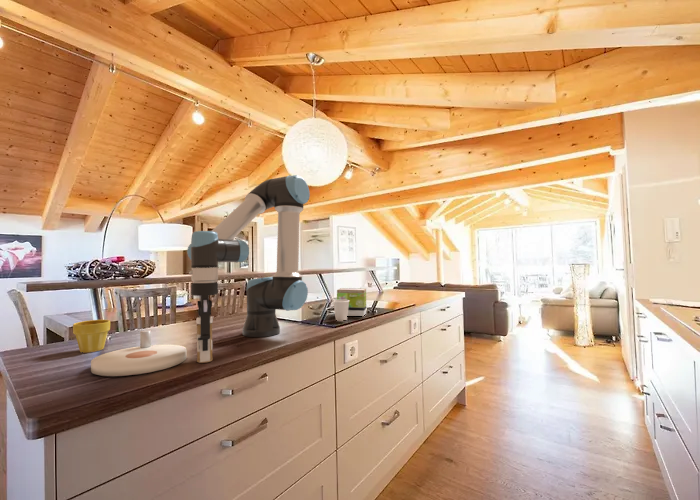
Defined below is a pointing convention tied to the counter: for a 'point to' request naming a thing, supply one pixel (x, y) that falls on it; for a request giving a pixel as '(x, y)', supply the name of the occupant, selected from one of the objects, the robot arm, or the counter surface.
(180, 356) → the disc
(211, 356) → the sprinkles bottle
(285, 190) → the robot arm
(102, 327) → the plant pot
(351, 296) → the tea box
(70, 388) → the counter surface
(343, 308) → the dixie cup
